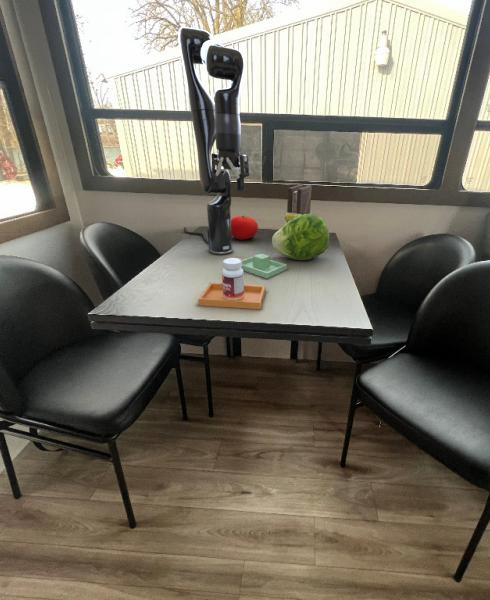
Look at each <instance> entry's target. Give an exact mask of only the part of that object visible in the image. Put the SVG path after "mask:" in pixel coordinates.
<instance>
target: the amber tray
mask: <svg viewBox="0 0 490 600" xmlns="http://www.w3.org/2000/svg"><path fill="white" fill-rule="evenodd" d="M265 294H266V285H256V284H244V296H243V298H241V299H239V300H227V299H225V298H224V296H223V284H222V282H221V283H220V282H209V283H208V285H207V286H206V288H205V289H204V290H203V291H202V293H201V295H200V296H199V297H198V298H197V302H198V306H202V307H204V306H205V307H218V308H220V307H221V308H235V309H249V310H261V307H262V305H263V301H264V297H265Z"/></svg>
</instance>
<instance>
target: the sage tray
mask: <svg viewBox="0 0 490 600" xmlns="http://www.w3.org/2000/svg"><path fill="white" fill-rule="evenodd" d="M240 260H241V259H240ZM241 261H242V267H241V268H242V269H243V272H247V273H249V274H253V275H256V276H259V277H261V278H265V279H269V278H272V277H273V276H276V275H279V274H280V273H282V272H284V271H287V269H288V268H287V267H288V264H286V263H282V262H279V261H276V260H273V259H270V267H269V268H267V269H264V270H259V269H256V268H253V256H250V257H247V258H244V259H242V260H241Z"/></svg>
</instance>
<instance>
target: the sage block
mask: <svg viewBox="0 0 490 600" xmlns="http://www.w3.org/2000/svg"><path fill="white" fill-rule="evenodd" d="M252 257H253V268H256V269H259V270H264V269H267V268H269V267H270V260H271V255H268V254H264V253H258V254H254V255H253V256H252Z"/></svg>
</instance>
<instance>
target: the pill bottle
mask: <svg viewBox="0 0 490 600" xmlns="http://www.w3.org/2000/svg"><path fill="white" fill-rule="evenodd" d="M222 264H223V267H222V268H223V269H221V270H222V271H221V283H222V284H223V296H224V298H225V299H227V300H239V299H241V298H243V296H244V285H245V282H244V281H245V279H244V278H245V277H244V276H245V275H244V274H245V272H244V270H243V269H242V268H241V267H242V261H241V258H237V257H228V258H225V259H223V261H222Z"/></svg>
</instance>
